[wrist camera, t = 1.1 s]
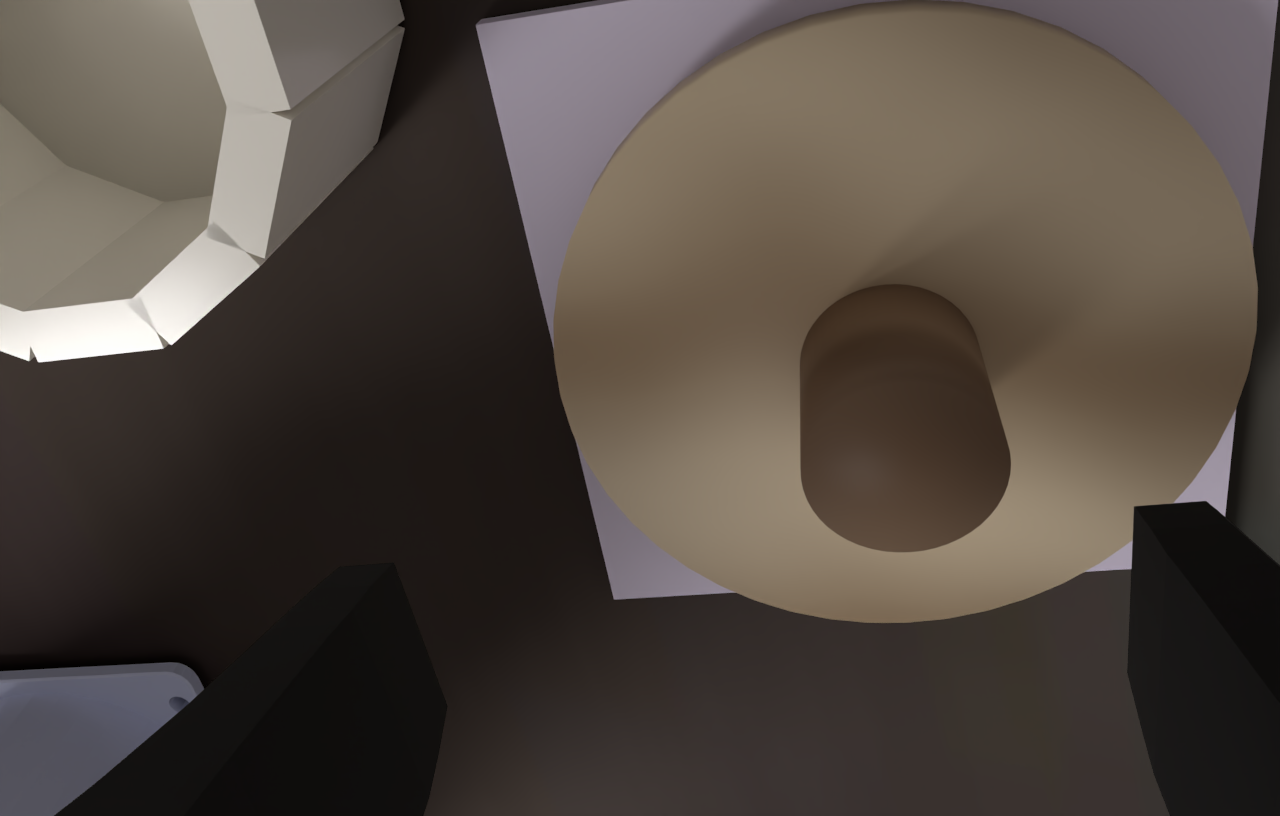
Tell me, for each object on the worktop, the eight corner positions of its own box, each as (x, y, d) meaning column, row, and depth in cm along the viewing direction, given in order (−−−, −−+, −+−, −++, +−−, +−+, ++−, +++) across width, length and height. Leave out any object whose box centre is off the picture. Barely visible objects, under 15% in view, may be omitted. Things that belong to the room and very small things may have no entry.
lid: (1198, 548, 21) (1290, 738, 17) (629, 583, 23) (595, 760, 19) (1254, -70, 16) (1406, 1, 12) (507, 46, 18) (425, 139, 14)
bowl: (455, 193, 20) (362, 326, 15) (48, 247, 21) (-140, 381, 17) (308, -355, 16) (127, -380, 11) (-181, -241, 17) (-502, -224, 13)
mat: (1213, 550, 22) (1220, 563, 21) (616, 586, 24) (614, 599, 23) (1278, -111, 16) (1289, -107, 15) (481, 19, 18) (475, 24, 18)
